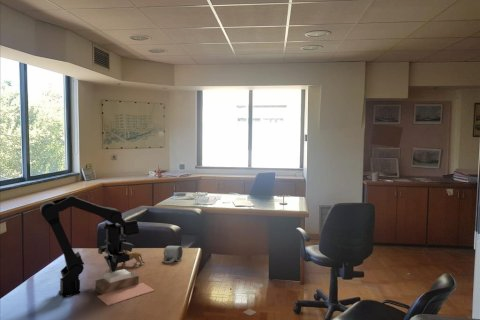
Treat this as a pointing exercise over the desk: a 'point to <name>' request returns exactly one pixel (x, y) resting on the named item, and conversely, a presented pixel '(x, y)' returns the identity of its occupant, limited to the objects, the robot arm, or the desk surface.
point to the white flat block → (117, 275)
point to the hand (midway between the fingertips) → (113, 272)
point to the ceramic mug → (172, 254)
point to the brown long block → (116, 284)
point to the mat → (125, 293)
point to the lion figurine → (132, 256)
